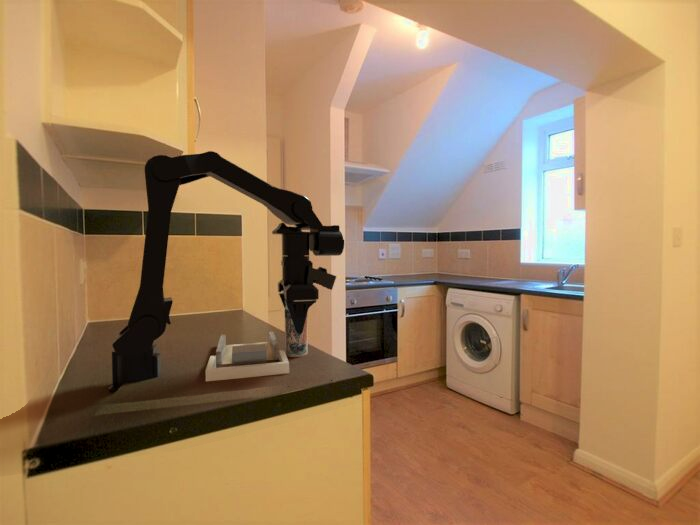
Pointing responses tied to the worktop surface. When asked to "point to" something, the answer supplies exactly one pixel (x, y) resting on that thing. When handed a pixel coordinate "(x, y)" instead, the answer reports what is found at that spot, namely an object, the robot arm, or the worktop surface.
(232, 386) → the worktop surface
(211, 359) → the tray
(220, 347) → the slot plate
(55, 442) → the worktop surface
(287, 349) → the beer can
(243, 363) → the grey block
